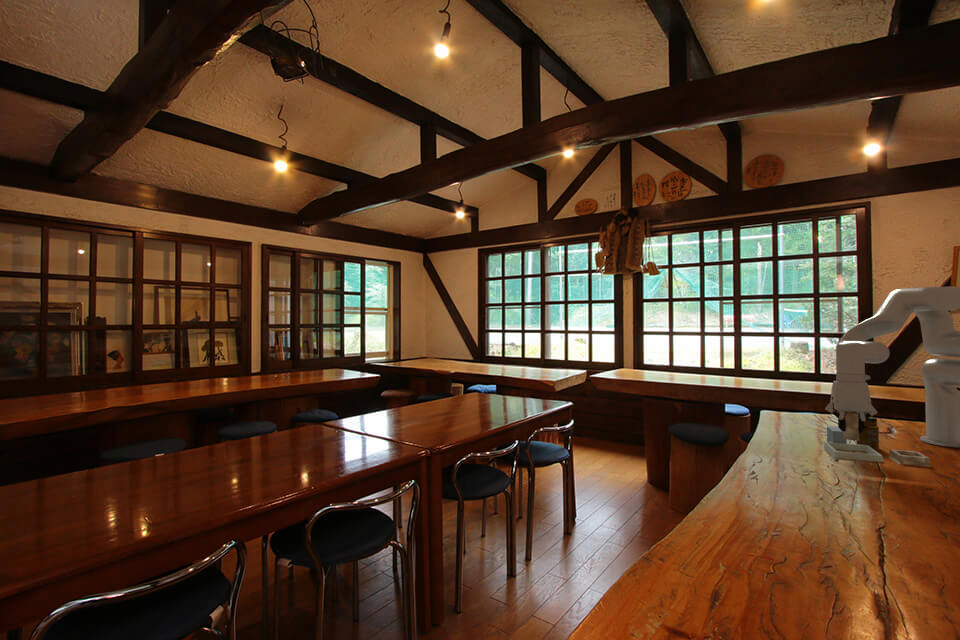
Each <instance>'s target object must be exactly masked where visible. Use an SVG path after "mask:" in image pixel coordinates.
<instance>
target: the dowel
mask: <svg viewBox="0 0 960 640" xmlns="http://www.w3.org/2000/svg"><path fill="white" fill-rule="evenodd" d="M844 420H845V432H844V439H847V441H858V440H859V413H857V412H849V411H845V413H844Z"/></svg>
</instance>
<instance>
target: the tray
mask: <svg viewBox="0 0 960 640" xmlns="http://www.w3.org/2000/svg"><path fill="white" fill-rule="evenodd" d="M823 445H824V446H823V450H824V451H825V452H826V453H827V455H829V456H830V457H831V458H832V460H834V461H835V462H836V461H837V462H839V461H840V460H839V459H843V460H844V459H846V460H856V461H867V462H876V463H878V462H879V463H883V462H884V461H883V460H884V459H883V455H882V454H881V453H879V452H877V450H874V449H872V448H871V447H870V446H868V445H858V444H856V443H855V444H854V443H847V444H845V443H833V442H827V441H824V442H823ZM839 450H840V451H839ZM841 450H845V451H841ZM851 451H855V452H851ZM860 452H861V453H860ZM863 452H864V453H863ZM865 452H866V453H865Z"/></svg>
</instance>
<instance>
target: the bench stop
mask: <svg viewBox="0 0 960 640" xmlns="http://www.w3.org/2000/svg"><path fill="white" fill-rule="evenodd" d="M826 442H833V443H845V444H848V443H847V442H848V440H847V439H844V432H843V431H841V430H840V428H838V426H830V425H829V426H826Z"/></svg>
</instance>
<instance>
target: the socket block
mask: <svg viewBox="0 0 960 640" xmlns="http://www.w3.org/2000/svg"><path fill="white" fill-rule="evenodd" d="M887 458H888V459H889V458H890V459H891V460H892V461H893V462H896V463H897V464H898V465H908V466H915V467H916V466H917V467H918V466H919V467H927V468H928V467H929V468H932V465H930V458H929V457H928V456H926V455H924V454H923V453H921V452H919V451H914V450H902V449H901V450H900V449H889V455H888V456H887Z"/></svg>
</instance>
